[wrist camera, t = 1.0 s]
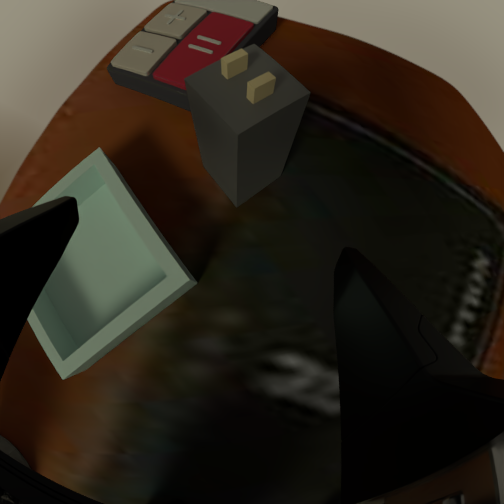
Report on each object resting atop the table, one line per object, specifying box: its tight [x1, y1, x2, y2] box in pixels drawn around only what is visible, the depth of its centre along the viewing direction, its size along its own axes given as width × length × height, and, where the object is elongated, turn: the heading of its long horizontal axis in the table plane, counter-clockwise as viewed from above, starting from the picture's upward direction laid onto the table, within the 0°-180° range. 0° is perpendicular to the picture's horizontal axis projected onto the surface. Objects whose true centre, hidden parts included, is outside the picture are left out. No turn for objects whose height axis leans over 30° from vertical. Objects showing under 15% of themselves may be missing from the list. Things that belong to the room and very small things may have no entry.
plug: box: [184, 44, 311, 207], centre depth 18 cm, size 4×4×12 cm
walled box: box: [27, 147, 197, 380], centre depth 20 cm, size 12×12×4 cm
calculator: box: [107, 0, 278, 112], centre depth 24 cm, size 11×4×15 cm
